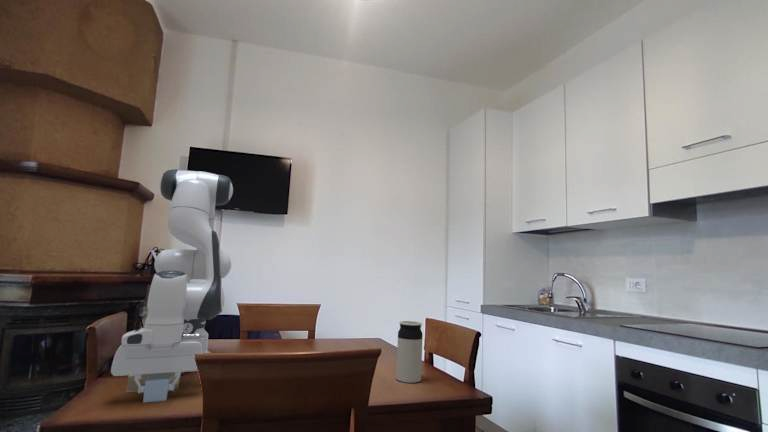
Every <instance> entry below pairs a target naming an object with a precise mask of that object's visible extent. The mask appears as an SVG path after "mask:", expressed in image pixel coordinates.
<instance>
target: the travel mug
mask: <svg viewBox="0 0 768 432" xmlns="http://www.w3.org/2000/svg"><path fill="white" fill-rule="evenodd" d="M398 323H399V329H398V332H397V350H396V351H397V352H396V372H395V373H396V375H395V377H396V380H398V381H399V382H402V383H406V384H415V383H416V382H417V383H419V382H420V381H422V360H423V359H422V357H423V332H422V329H421V328H422V325H423V323H422V322H420V321H412V320H402V321H401V320H400V321H399V322H398Z"/></svg>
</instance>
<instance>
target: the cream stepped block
mask: <svg viewBox="0 0 768 432" xmlns="http://www.w3.org/2000/svg"><path fill="white" fill-rule="evenodd" d="M166 374H170V375H169V382H172V381H173V380H174V378H175V372H173V373H157V374H142V377H141V379H140V380H141V382H142V384H145V382H146V378H147V376H150V375H166ZM134 378H135V375H127V384H126V394H128V393H138V387H139V386H138V385H137V384H136V382H135V380H134ZM180 378H181V377H180ZM180 378H179V379H178V381H177V382H176V383H175V386H174V390H175V389H176V390H177V389H178V390H179V388H180V387H179V386H180Z"/></svg>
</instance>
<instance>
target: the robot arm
mask: <svg viewBox="0 0 768 432" xmlns="http://www.w3.org/2000/svg"><path fill="white" fill-rule="evenodd" d="M159 190H160V195H161V196H162V197H163V198H164V199H166V200H167V201H170V204H169V205H170V206H169V208H168V209H169V210H168V215H167V228H168V229H167V230H168V231H169V233H170V234H171V235H172V237H174V238H175V239H176V240H177V241H179V242H182V243H183V244H184V245H185V244H186V245H188V246H191V247H192V248H195V249H191V248H190V249H186V248H171V249H170V248H169V249H164V250H162V251H160V252H159V253H158V254H157V255H156V257H155V260H154V264H153V265H154V270H155V274H153V277H152V281H151V284H150V288H149V292H148V296H147V304H146V308H147V316H146V319H145V320H144V327H141V328H139V329H134V330H131V331H128V332H126V333H124V334H123V335H122V337H121V344H120V346H119V347H118V348H117V350H116V351H115V354H114V356H113V360H112V363H111V369H110V373H111V375H112V376H113V377H122V376H129V375H135V378H134V380H135V382H136V384H137V385H138V386H139V387H138V392H137V394H144V390H145V384H142V382H141V380H140V379H141V377H142V374H157V373H173V372H175V378H174V380H173V381H172V382H169V383H168V392H173V391H175V389H174V386H175V383H176V382H177V381H178V379H179V378H181V375H182V374H181V372H184V373H185V372H187V373H189V372H199V371H198V370H197V366H196V362H195V359H194V354H203V353H212V352H211V351H210V350H208V346H209V345H208V343H209V333H208V332H207V331H206V330H205V327H206V324H207V323H206V322H207V321H206V320H208V321H210V320H212V319H214V318H216V317H217V316H218V315H220V314H221V313H222V311H223V308H224V306H225V293H224V289H223V285H222V284H223V283H222V279H225V278H226V276H228V275H229V273H230V271H231V268H232V260H231V258H230V257H229V255H228V254H227V253H226V252H225V251H223V250H222V249H221V247H220V242H219V237H218V233H217V231H215V217H216V216H215V215H216V207H217V206H224V205H226V204H228V203H229V202H230V200H231V198H232V196H233V194H234V187H233V182H232V180H231V179H230V177H229V176H226V175H223V174H216V173H212V172H207V171H200V170H197V171H196V170H181V169H180V170H179V169H176V168H175V169H173V168H172V169H168V170H166V171H165V172H164V173H163V174H162V176H161V178H160V180H159ZM191 280H205V282H202V283H198V282H197V283H196V282H195V283H194V282H190V281H191ZM179 380H180V379H179Z"/></svg>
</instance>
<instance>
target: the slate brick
mask: <svg viewBox="0 0 768 432" xmlns="http://www.w3.org/2000/svg"><path fill="white" fill-rule="evenodd" d="M169 375H170V374H166V375H150V376H147V378H146V382H145V390H144V393H143V398H142V399H143V401H142V403H152V402H153V403H155V402H162V401H165V402H166V401H167V398H168V392H169V391H168V383H169Z"/></svg>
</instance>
